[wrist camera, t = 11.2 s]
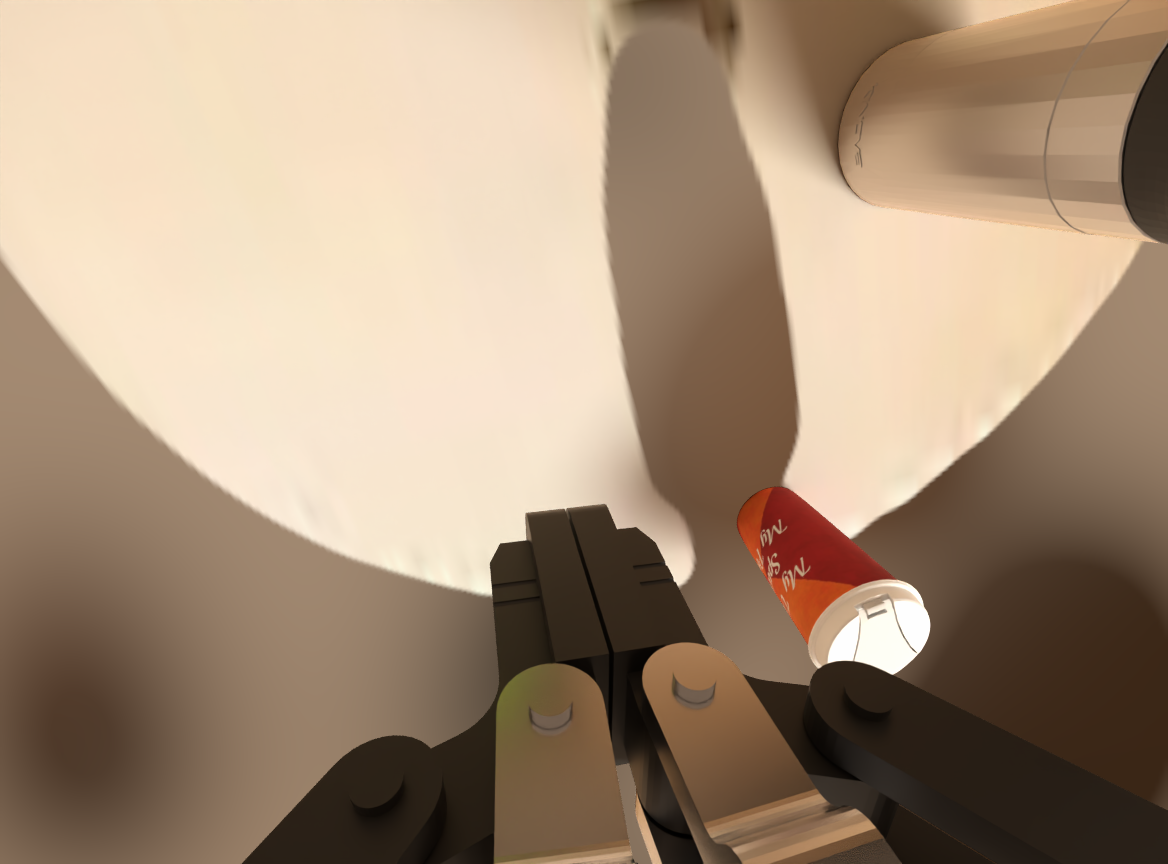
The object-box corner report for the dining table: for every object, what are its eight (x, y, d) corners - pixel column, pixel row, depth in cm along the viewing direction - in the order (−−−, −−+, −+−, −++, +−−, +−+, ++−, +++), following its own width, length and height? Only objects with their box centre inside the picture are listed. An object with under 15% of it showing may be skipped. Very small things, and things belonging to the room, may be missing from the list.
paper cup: (716, 494, 45) (814, 624, 33) (807, 461, 46) (938, 576, 33) (732, 568, 49) (826, 709, 37) (817, 536, 49) (938, 665, 37)
